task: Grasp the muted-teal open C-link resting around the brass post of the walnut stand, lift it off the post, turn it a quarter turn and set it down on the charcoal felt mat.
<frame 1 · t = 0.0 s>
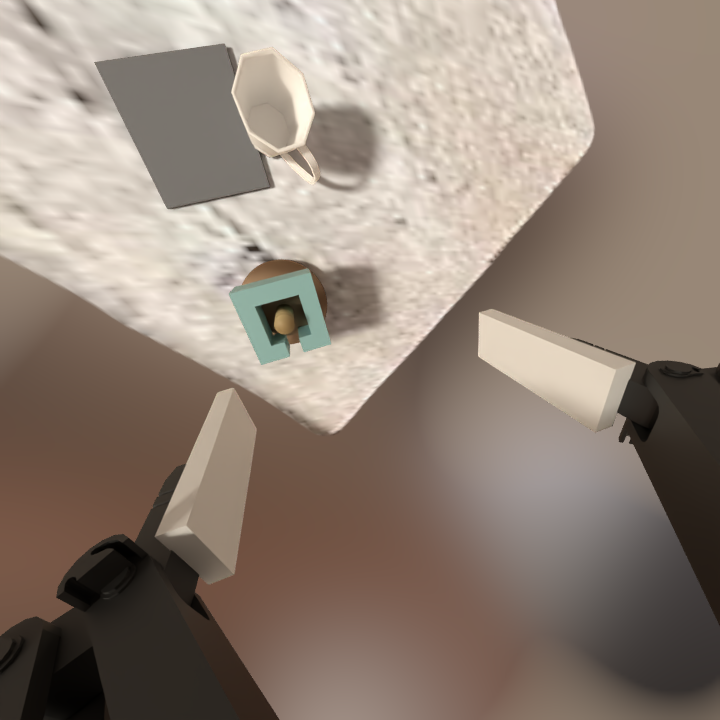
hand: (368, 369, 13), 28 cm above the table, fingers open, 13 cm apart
cup: (278, 147, 30), on the table
stand: (285, 302, 38), on the table
mat: (195, 134, 28), on the table
link: (284, 312, 34), point 5 cm above the table, touching stand
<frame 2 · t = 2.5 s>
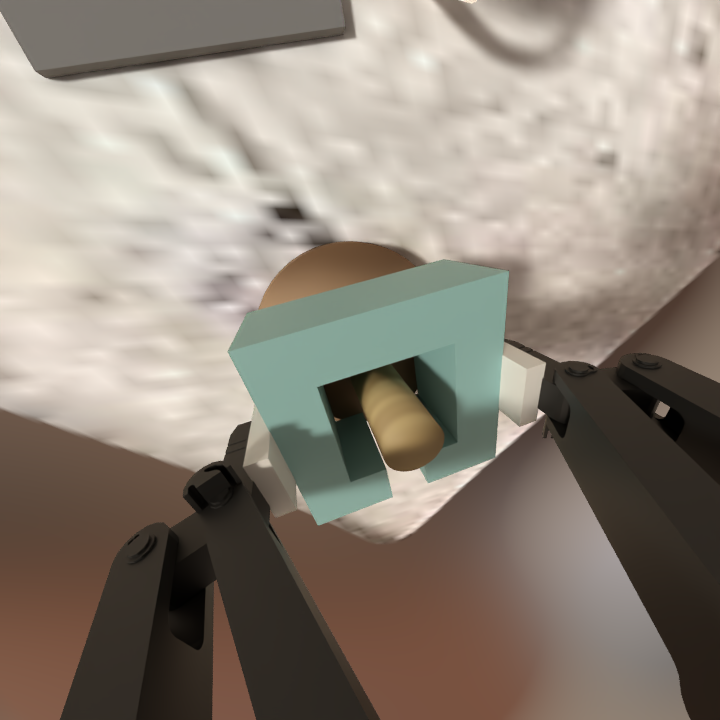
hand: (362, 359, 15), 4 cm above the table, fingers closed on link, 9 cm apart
stand: (349, 336, 18), on the table
link: (369, 370, 13), point 5 cm above the table, touching gripper, stand
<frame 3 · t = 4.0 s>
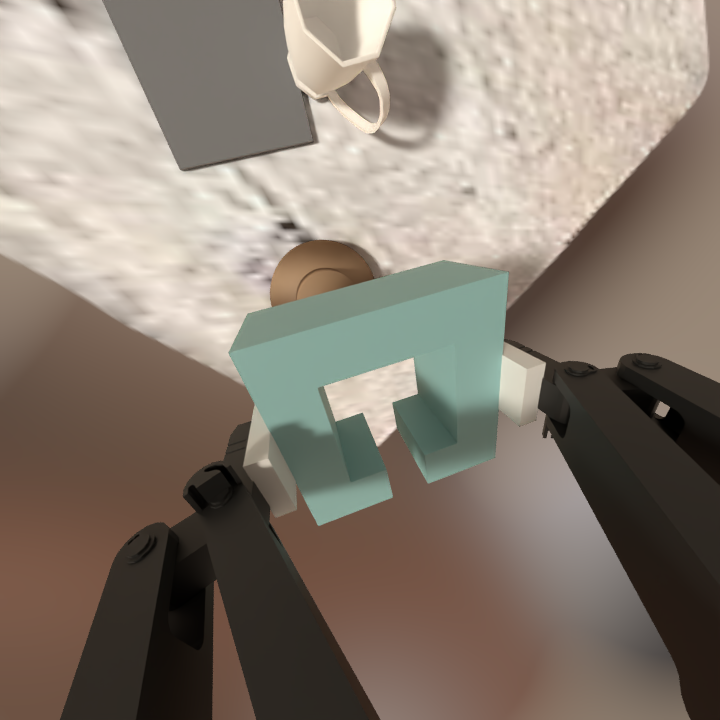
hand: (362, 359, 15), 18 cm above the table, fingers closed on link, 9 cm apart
cup: (325, 87, 23), on the table, touching mat
stand: (324, 295, 31), on the table
mat: (217, 63, 21), on the table
link: (369, 371, 13), point 20 cm above the table, touching gripper
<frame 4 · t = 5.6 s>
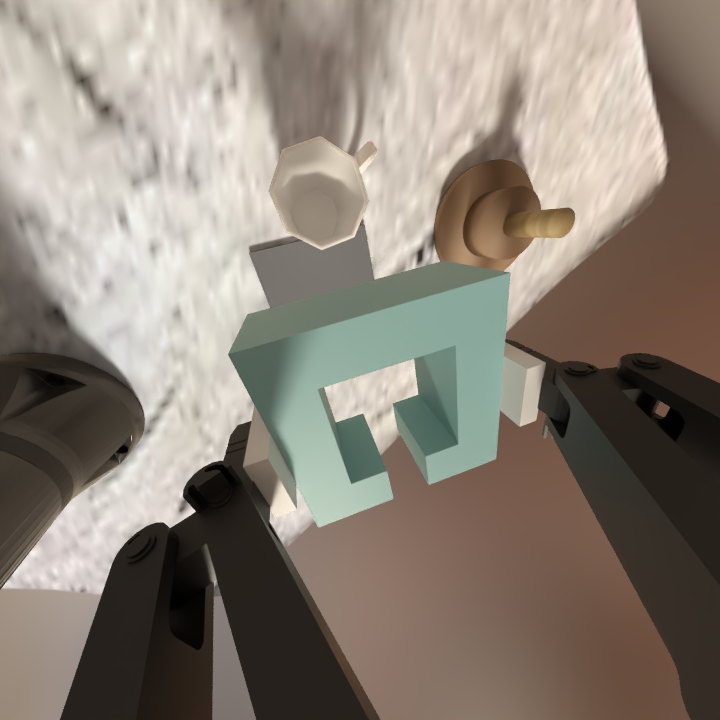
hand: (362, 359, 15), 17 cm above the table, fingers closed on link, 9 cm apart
cup: (325, 208, 26), on the table, touching mat
stand: (480, 225, 30), on the table
mat: (323, 295, 29), on the table
link: (369, 371, 13), point 18 cm above the table, touching gripper
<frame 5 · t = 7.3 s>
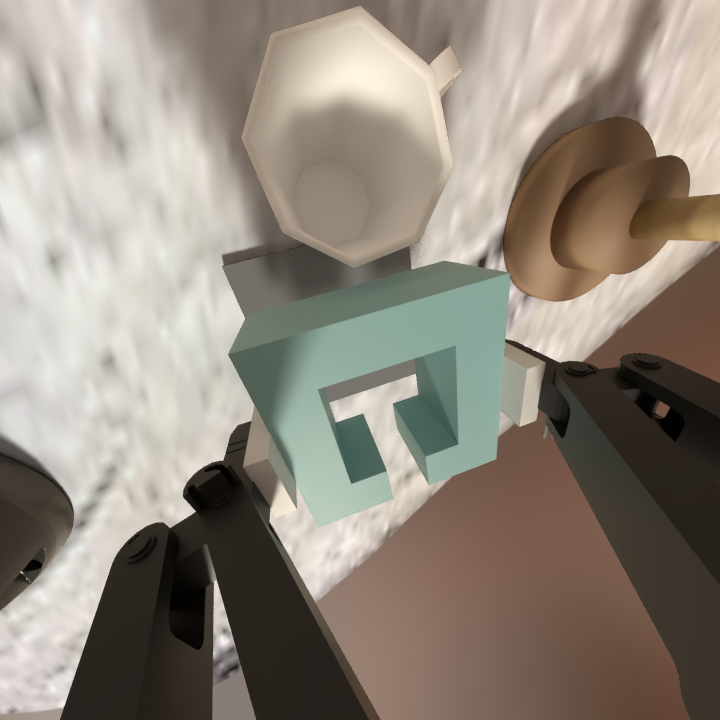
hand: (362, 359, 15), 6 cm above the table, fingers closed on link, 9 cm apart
cup: (346, 193, 16), on the table, touching mat
stand: (568, 222, 21), on the table
mat: (340, 326, 20), on the table
link: (369, 372, 13), point 7 cm above the table, touching gripper
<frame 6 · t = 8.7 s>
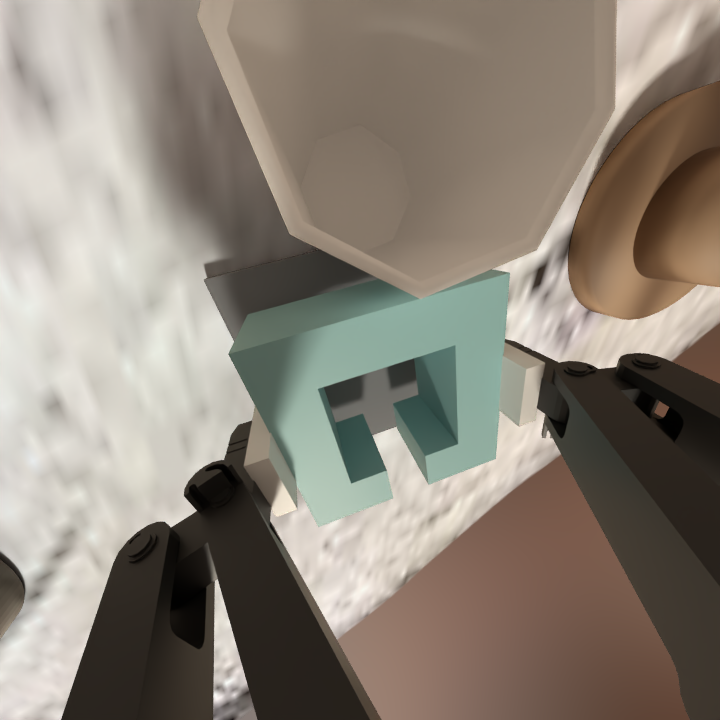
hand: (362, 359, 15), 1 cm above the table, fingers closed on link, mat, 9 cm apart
cup: (374, 179, 12), on the table, touching mat
stand: (651, 220, 16), on the table
mat: (359, 354, 15), on the table
link: (369, 371, 13), point 2 cm above the table, touching gripper
when the fingers open (1 cm above the table, at t = 8.9 s): link drops 2 cm, resting on mat.
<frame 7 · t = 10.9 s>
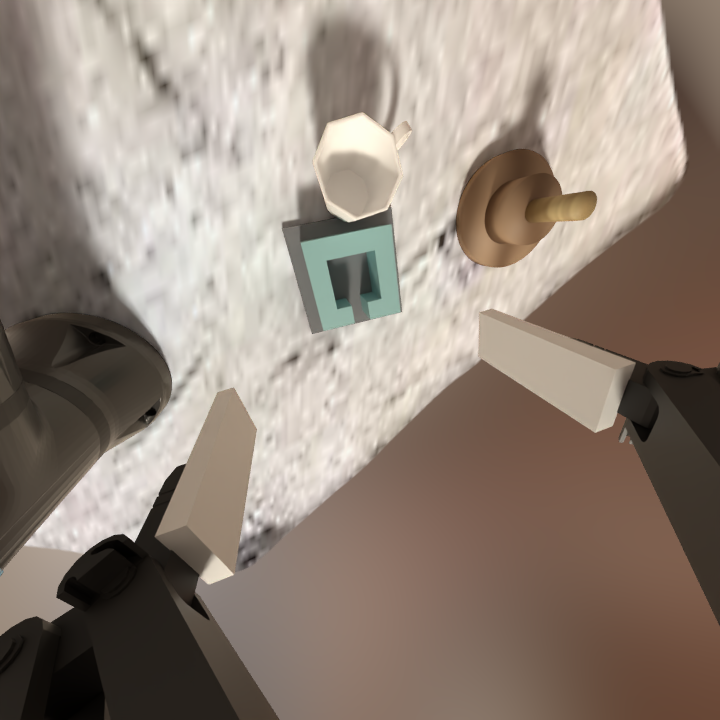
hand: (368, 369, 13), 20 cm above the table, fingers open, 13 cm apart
cup: (355, 189, 27), on the table, touching mat
stand: (501, 214, 31), on the table
mat: (348, 274, 31), on the table
link: (348, 275, 30), resting on mat
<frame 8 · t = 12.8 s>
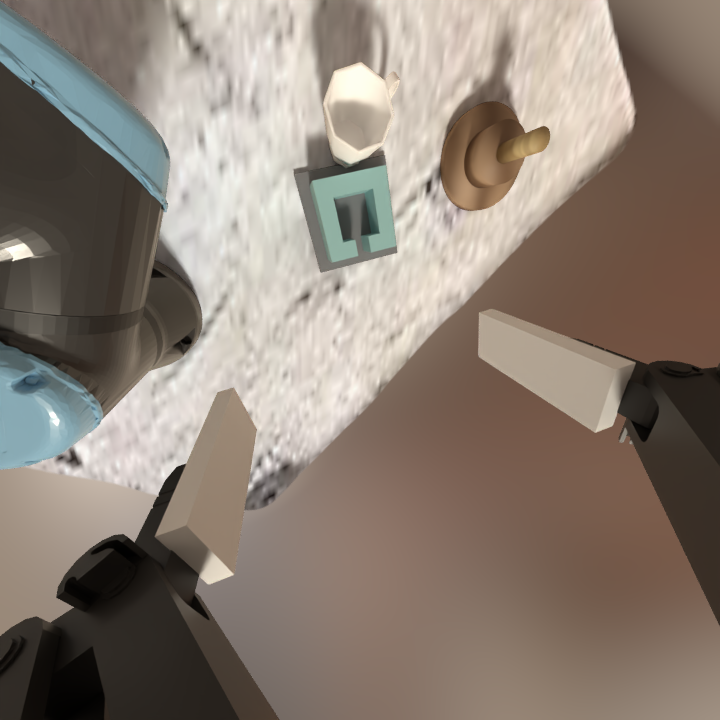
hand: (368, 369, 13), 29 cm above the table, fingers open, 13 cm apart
cup: (354, 139, 32), on the table, touching mat
stand: (478, 162, 37), on the table
mat: (350, 217, 36), on the table
link: (350, 217, 35), resting on mat
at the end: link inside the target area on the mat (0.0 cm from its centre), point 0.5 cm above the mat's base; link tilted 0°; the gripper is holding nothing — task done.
